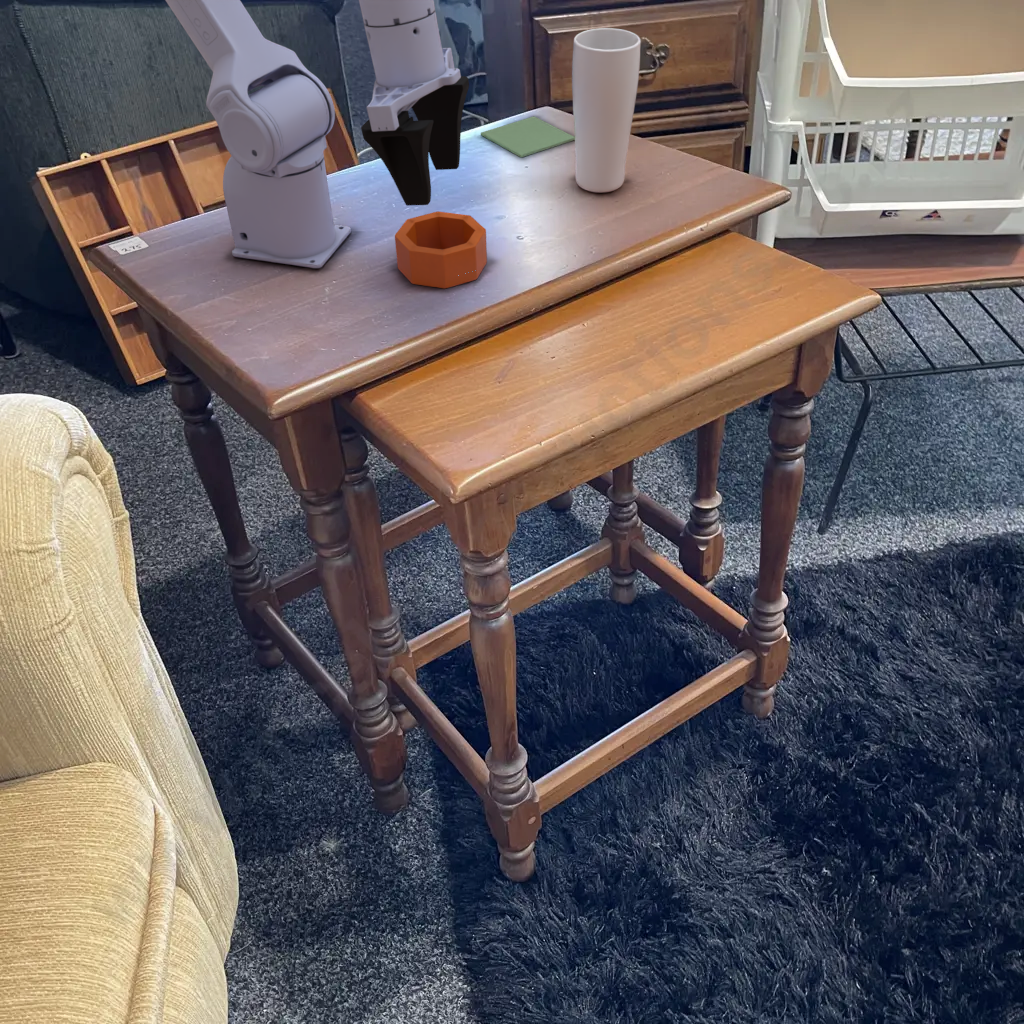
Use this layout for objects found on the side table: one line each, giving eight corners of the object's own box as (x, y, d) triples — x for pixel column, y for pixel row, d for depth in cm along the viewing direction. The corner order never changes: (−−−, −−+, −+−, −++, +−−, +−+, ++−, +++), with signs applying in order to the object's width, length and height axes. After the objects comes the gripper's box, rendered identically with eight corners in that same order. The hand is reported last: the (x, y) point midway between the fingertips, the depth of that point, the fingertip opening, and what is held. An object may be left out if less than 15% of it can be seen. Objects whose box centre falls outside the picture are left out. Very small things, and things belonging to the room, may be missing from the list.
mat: (521, 157, 113) (521, 155, 112) (480, 135, 117) (480, 132, 117) (575, 139, 116) (575, 137, 116) (533, 118, 121) (533, 116, 120)
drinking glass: (633, 197, 105) (644, 50, 95) (569, 198, 105) (574, 51, 95) (628, 169, 110) (638, 26, 100) (567, 170, 110) (571, 27, 100)
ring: (388, 280, 93) (385, 247, 91) (417, 240, 99) (415, 208, 96) (469, 292, 91) (467, 258, 89) (494, 251, 97) (493, 218, 95)
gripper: (414, 40, 71) (449, 219, 79) (475, -12, 81) (500, 151, 90) (326, 47, 73) (369, 221, 82) (397, -5, 83) (429, 155, 92)
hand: (433, 185), depth 86 cm, fingers open, 7 cm apart
